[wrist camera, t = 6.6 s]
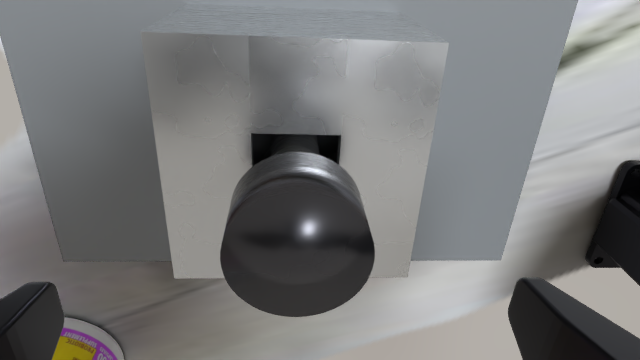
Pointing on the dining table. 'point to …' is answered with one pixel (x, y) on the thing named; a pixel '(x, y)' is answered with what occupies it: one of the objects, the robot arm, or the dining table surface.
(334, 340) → the dining table surface
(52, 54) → the board
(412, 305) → the dining table surface
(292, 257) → the plunger
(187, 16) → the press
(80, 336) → the supplement bottle
